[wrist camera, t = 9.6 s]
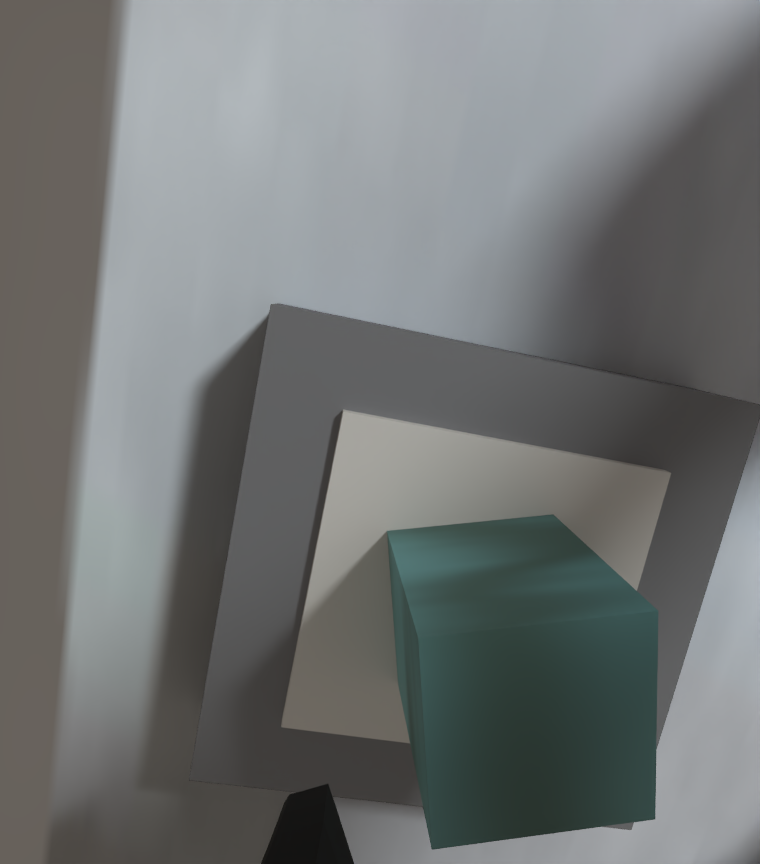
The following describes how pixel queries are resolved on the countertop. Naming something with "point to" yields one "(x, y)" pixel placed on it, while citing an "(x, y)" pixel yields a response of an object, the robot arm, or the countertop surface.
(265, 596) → the charcoal plinth
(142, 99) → the countertop surface
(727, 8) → the countertop surface
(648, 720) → the teal block
